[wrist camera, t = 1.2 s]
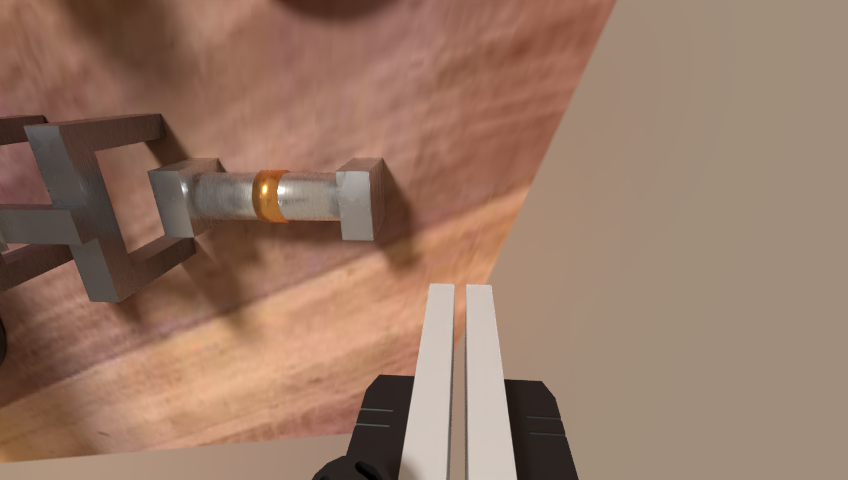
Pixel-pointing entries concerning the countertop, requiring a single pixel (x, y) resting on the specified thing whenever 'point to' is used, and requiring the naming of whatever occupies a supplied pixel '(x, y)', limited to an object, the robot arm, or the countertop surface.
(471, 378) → the robot arm
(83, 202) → the collar rail
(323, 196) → the tube
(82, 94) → the countertop surface
